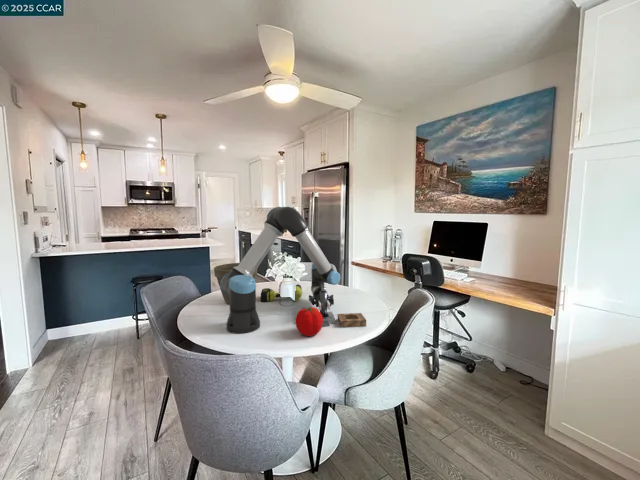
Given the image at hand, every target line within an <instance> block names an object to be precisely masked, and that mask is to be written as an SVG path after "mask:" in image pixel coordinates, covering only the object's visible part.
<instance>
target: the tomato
mask: <svg viewBox="0 0 640 480" xmlns="http://www.w3.org/2000/svg"><path fill="white" fill-rule="evenodd" d="M322 323H323V317H322V315H321V313H320V310H319V308H318V307H313V306H309V307H307V308H306V307H303V308H301V309H300V310H299V311H298V312H297V313H296V315H295V325H296V329H297V331H298V332H299V333H300V334H301V335H303V336H307V337H311V336H316V335H317V334H319V333H320V331H321V329H322V328H323V327H322Z"/></svg>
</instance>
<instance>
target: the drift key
mask: <svg viewBox="0 0 640 480" xmlns="http://www.w3.org/2000/svg"><path fill="white" fill-rule="evenodd" d="M326 327H331V324H329V323H325V324H322V328H326Z"/></svg>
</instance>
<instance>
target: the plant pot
mask: <svg viewBox="0 0 640 480" xmlns="http://www.w3.org/2000/svg"><path fill="white" fill-rule="evenodd" d="M239 264H240V262H233V263H232V262H231V263H225V264H220V265H216V266H214V267H213V270H214V271H213V273H214V277H215V278H216V280H217V283H218V286H219V289H220V292H221V295H222V299H223V300H224V303H225V304H226V303H227V304H226V305H230V299H229V298H228V297H227V296H226V295H224V293H223V292H222V290H221V280H222V278H223V277H224V276H225V275H226V274H228V273H230V271H231V270H232V269H233V267H236V266H238V265H239ZM257 274H258V268H257V269H256V270H255V272H254V273H253V275H252V276H253V278H254V279H255V280H256V277H257Z"/></svg>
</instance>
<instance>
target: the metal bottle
mask: <svg viewBox="0 0 640 480" xmlns="http://www.w3.org/2000/svg"><path fill="white" fill-rule="evenodd" d="M327 295H328V291H327V287H325V286H324V287H322V288H321V291H320V303H321V310H319V312H320V313H321V315H322V317H327V312H328V307H327Z"/></svg>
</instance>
